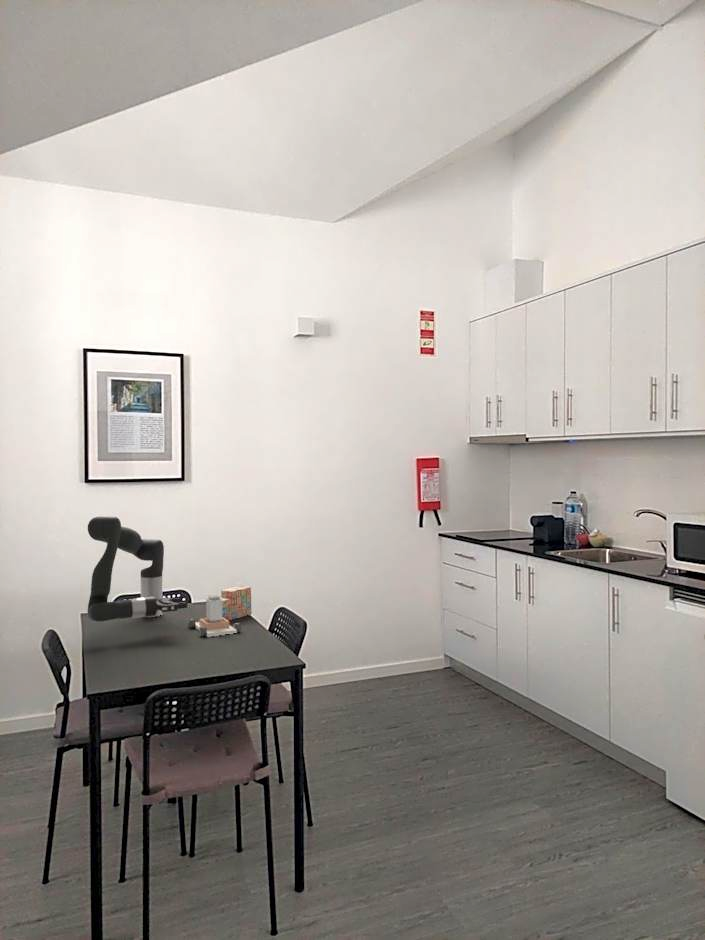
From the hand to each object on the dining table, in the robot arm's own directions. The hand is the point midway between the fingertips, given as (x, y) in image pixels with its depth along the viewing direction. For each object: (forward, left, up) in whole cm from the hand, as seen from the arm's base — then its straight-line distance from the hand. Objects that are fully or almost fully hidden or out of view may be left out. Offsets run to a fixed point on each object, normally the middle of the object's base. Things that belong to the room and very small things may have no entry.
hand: (183, 602), depth 296 cm
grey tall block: (+1, +12, -11) cm, 16 cm away
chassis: (+1, +12, -12) cm, 17 cm away
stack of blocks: (-15, +24, -12) cm, 31 cm away
